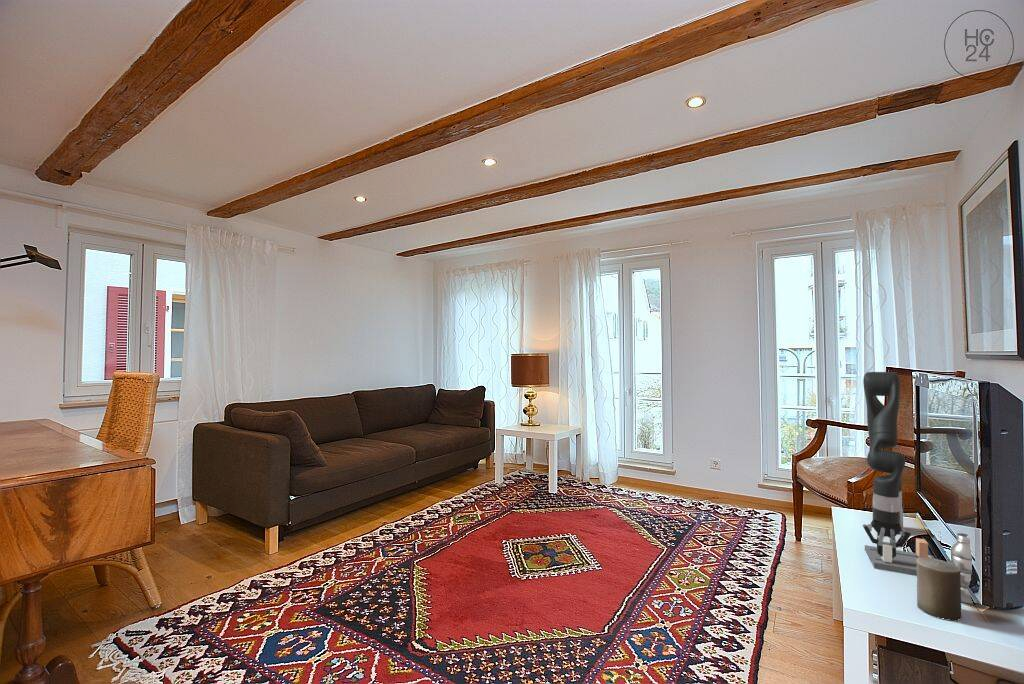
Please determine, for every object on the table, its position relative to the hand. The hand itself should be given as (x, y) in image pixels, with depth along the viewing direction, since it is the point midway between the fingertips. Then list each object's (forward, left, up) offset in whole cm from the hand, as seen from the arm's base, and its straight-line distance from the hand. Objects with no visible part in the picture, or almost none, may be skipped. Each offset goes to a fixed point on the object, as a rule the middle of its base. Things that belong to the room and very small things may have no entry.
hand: (886, 556), depth 164 cm
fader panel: (-7, +1, -4) cm, 8 cm away
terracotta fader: (-15, +2, -1) cm, 15 cm away
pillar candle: (+15, +24, -4) cm, 28 cm away
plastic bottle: (+1, +23, -4) cm, 23 cm away
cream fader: (0, 0, -1) cm, 1 cm away
